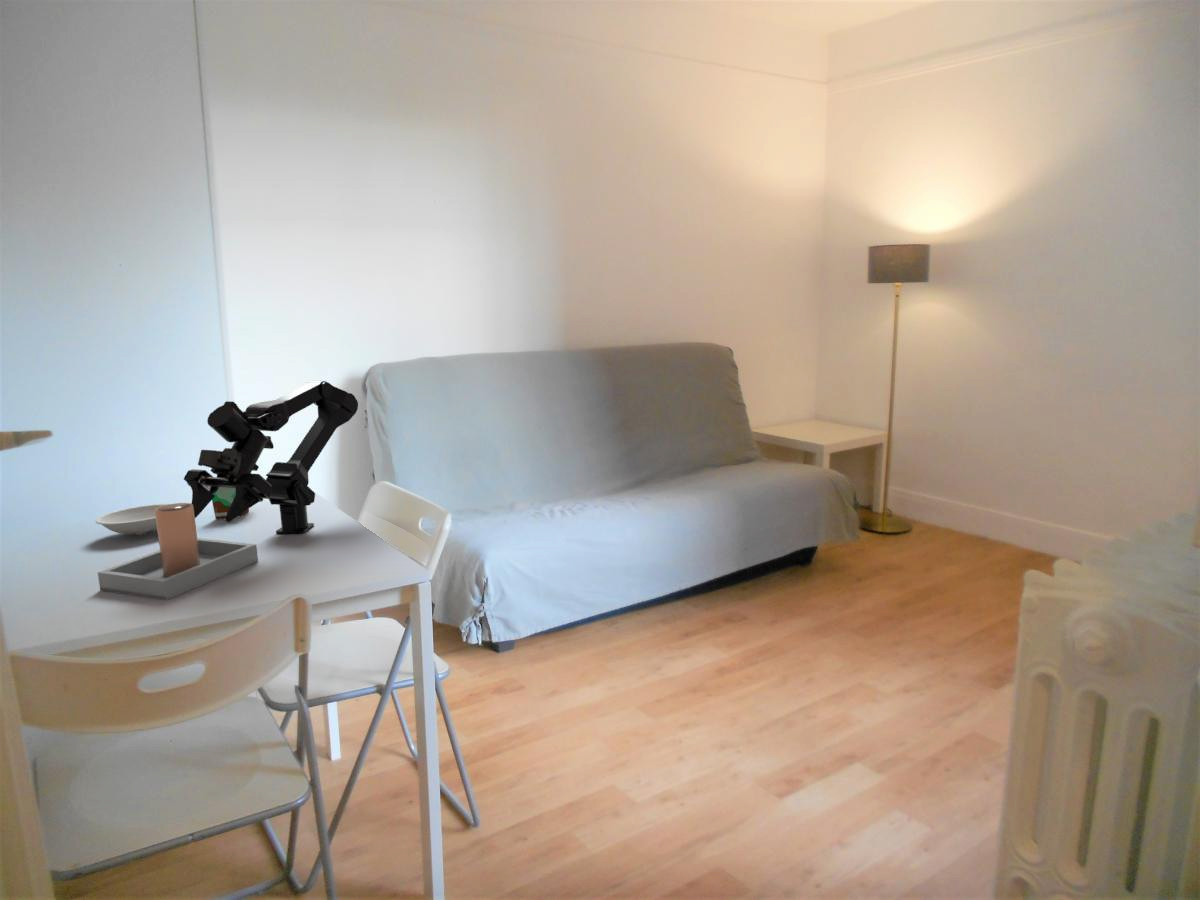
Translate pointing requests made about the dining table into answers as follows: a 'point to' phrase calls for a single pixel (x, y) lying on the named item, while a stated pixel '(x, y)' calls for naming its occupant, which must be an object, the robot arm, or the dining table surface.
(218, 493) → the food container
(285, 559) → the dining table surface
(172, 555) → the cup
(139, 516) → the dish
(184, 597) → the dining table surface
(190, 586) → the tray
